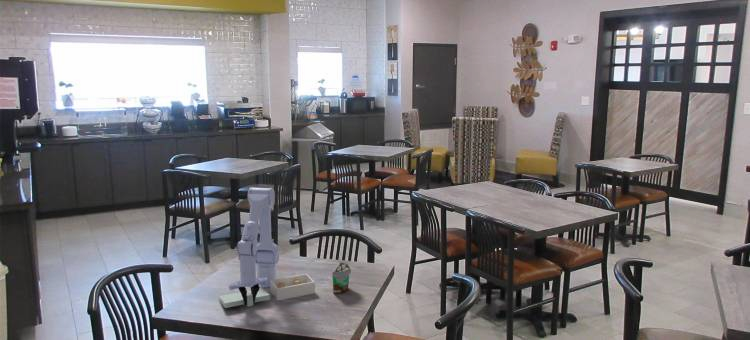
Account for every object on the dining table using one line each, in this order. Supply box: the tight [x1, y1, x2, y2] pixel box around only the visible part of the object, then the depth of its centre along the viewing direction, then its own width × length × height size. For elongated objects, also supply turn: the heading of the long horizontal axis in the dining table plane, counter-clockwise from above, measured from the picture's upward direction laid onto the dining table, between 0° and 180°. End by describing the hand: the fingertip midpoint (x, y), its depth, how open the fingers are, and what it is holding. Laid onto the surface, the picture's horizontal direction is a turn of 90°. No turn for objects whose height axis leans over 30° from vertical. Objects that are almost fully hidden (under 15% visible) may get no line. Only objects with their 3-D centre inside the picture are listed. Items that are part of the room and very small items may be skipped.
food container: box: [331, 262, 352, 295], centre depth 224 cm, size 12×6×10 cm, turn 168°
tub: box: [269, 273, 316, 301], centre depth 222 cm, size 10×16×5 cm, turn 117°
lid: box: [218, 288, 271, 309], centre depth 211 cm, size 15×18×4 cm
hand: (249, 303), depth 206 cm, fingers closed on lid, 2 cm apart
